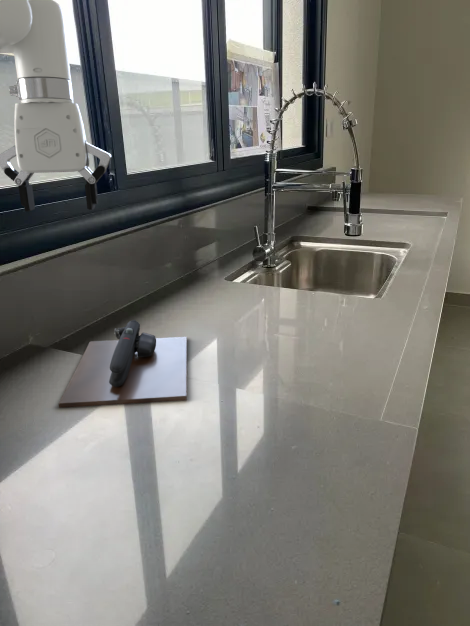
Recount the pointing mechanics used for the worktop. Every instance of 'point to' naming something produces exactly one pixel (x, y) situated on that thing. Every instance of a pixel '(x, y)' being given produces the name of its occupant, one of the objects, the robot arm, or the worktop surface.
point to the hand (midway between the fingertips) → (61, 209)
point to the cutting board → (129, 376)
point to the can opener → (129, 350)
